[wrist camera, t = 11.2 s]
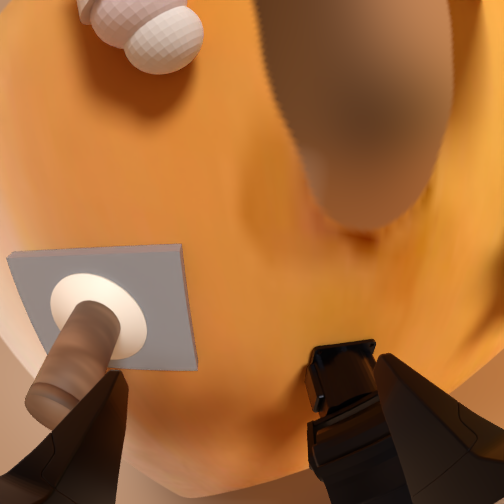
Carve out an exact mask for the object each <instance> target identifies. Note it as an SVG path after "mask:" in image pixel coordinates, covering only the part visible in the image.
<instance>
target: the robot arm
mask: <svg viewBox="0 0 504 504" xmlns="http://www.w3.org/2000/svg"><path fill="white" fill-rule="evenodd" d="M375 346H376V342H375V340H374V339H368V340H362V341H355V342H348V343H340V344H332V345H324V346H317V347H315V348H314V350H313V354H312V359H311V364H310V365H309V366H308V367H307V373H306V378H305V384H306V388H307V392H308V395H309V399H310V403H311V407H312V410H313V411H314V412H315V413H316V412H319V415H320V419H317V420H315V421H311V422H308V423H307V429H308V430H307V441H308V461H309V467H310V469H311V470H313V471H314V472H315V474H316V476H317V477H318V478H319V479H320V481H322V482H324V484H325V486H326V489H327V491H328V494H329V498H330V501H331V504H504V430H503V429H502V428H500V427H498V426H496V425H494V424H493V423H491V422H489V421H488V420H486V419H484V418H482V417H480V416H479V415H477V414H476V413H474V412H472V411H471V410H470V409H468V408H467V407H465V406H464V405H462V404H461V403H459V402H457V400H455V399H454V398H452V397H451V396H450V395H448V394H447V393H446V392H444V391H443V390H441V389H440V388H439V387H437V386H436V385H434V384H433V383H432V382H430V381H429V380H427V379H426V378H425V377H423V376H422V375H420V374H419V373H418V372H416V371H415V370H413V369H412V368H411V367H409V366H408V365H406V364H405V363H404V362H402V361H401V360H400V359H398V358H397V357H395V356H394V355H393V354H391V353H386V354H381V355H380V356H379V357H378V360H377V362H376V361H375V359H374V357H373V355H372V354H373V352H374V349H375ZM318 351H319V352H318ZM128 391H129V389H128V384H127V382H126V380H125V378H124V375H123V373H122V372H121V371H120V370H109V371H108V372H107V373H106V374H105V375H104V376H103V377H102V378H101V379H100V380H99V381H98V383H97V384H96V385H95V386H94V387H93V388H92V389H91V390H90V391H89V392H88V393H87V394H86V395H85V396H84V397H83V398H82V399H81V400H80V401H79V403H78V404H77V405H76V406H75V407H74V408H73V409H72V410H71V411H70V412H69V413H68V414H67V415H66V416H65V417H64V419H63V420H62V421H61V422H60V423H59V424H58V425H57V426H56V427H55V428H54V429H53V430H52V433H49V435H48V436H47V437H46V438H45V439H44V440H43V441H42V442H41V443H40V444H39V445H38V446H37V447H36V448H35V449H34V450H33V451H32V452H31V453H30V454H28V455H27V456H26V457H25V458H24V459H23V460H21V461H20V462H19V463H18V464H17V465H16V466H14V467H13V468H12V469H11V470H10V471H8V472H7V473H5V474H4V475H2V476H0V504H115V501H116V492H117V483H118V476H119V469H120V462H121V455H122V449H123V443H124V437H125V430H126V420H127V404H128Z"/></svg>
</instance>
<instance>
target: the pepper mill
mask: <svg viewBox="0 0 504 504" xmlns="http://www.w3.org/2000/svg"><path fill="white" fill-rule="evenodd" d="M120 330H121V326H120V322H119V320H118V318H117V316H116V315H115V314H114V312H113V311H112V310H111V309H109V308H108V307H107V306H105V305H103V304H102V303H99V302H96V301H91V300H86V301H82V302H80V303H78V304H77V305H76V306H75V308H74V310H73V311H72V313H71V315H70V316H69V318H68V320H67V321H66V323H65V325H64V326H63V328H62V330H61V332H60V333H59V335H58V337H57V339H56V340H55V342H54V344H53V346H52V348H51V350H50V351H49V353H48V355H47V357H46V359H45V361H44V363H43V365H42V367H41V368H40V370H39V372H38V374H37V376H36V378H35V381H34V383H33V384H32V385H31V387H30V389H29V391H28V393H27V395H26V398H25V406H26V408H27V410H28V411H29V413H30V414H31V415H32V416H33V417H34V418H35V419H36V420H37V421H38V422H40V423H41V424H42V425H44V426H45V427H47V428H49V429H50V430H53V429H54V428H55V427H56V426H57V425H58V424H59V423H60V422H61V421H62V420H63V419H64V417H65V416H66V415H67V414H68V413H69V412H70V411H71V410H72V409H73V408H74V407H75V406H76V405H77V404H78V403H79V401H80V400H81V399H82V398H83V397H84V396H85V395H86V394H87V393H88V392H89V391H90V390H91V389H92V388H93V387H94V386H95V385H96V384H97V383H98V381H99V380H100V379H101V378H102V377H103V376H104V375H105V373H106V370H107V367H108V364H109V361H110V359H111V356H112V353H113V350H114V347H115V345H116V342H117V339H118V337H119V334H120Z"/></svg>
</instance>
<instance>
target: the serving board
mask: <svg viewBox="0 0 504 504" xmlns="http://www.w3.org/2000/svg"><path fill="white" fill-rule="evenodd" d="M6 259H7V262H8V265H9V268H10V271H11V274H12V276H13V279H14V282H15V285H16V287H17V290H18V292H19V295H20V297H21V300H22V302H23V305H24V307H25V309H26V312H27V314H28V316H29V319H30V321H31V323H32V325H33V327H34V329H35V331H36V334H37V336H38V338H39V340H40V342H41V344H42V346H43V348H44V349H45V351H46V353H47V355H48V353H49V351H50V350H51V348H52V346H53V344H54V342H55V340H56V339H57V337H58V335H59V333H60V332H61V330H62V328H63V326H64V325H65V323H66V321H67V320H68V318H69V316H70V315H71V313H72V311H73V310H74V308H75V306H76V305H77V304H78V303H80V302H82V301H86V300H91V301H96V302H99V303H102V304H103V305H105V306H107V307H108V308H109V309H111V310H112V311H113V312H114V314H115V315H116V316H117V318H118V320H119V322H120V326H121V330H120V334H119V337H118V339H117V342H116V345H115V347H114V350H113V353H112V356H111V359H110V361H109V364H108V367H110V368H123V369H141V370H172V371H198V358H197V352H196V346H195V340H194V333H193V327H192V320H191V314H190V307H189V300H188V292H187V285H186V277H185V268H184V260H183V251H182V244H163V245H139V246H117V247H96V248H75V249H56V250H37V251H19V252H12V253H11V254H10V255H9V256H8V257H7V258H6Z"/></svg>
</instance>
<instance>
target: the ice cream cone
mask: <svg viewBox="0 0 504 504" xmlns="http://www.w3.org/2000/svg"><path fill="white" fill-rule="evenodd" d="M77 6H78V12H79V17H80V21H81V23H82V24H85V25H91V24H92V28H93V29H94V31H95V33H96V34H97V36H98V37H99V38H100V39H101V40H102V41H104V42H105V43H107V44H109V45H110V46H114V47H117V48H120V49H124V51H125V54H126V57H127V58H128V60H129V61H130V63H131V64H132V65H133V66H134V67H136V68H138V69H139V70H141V71H143V72H146V73H150V74H168V73H172V72H175V71H178V70H180V69H181V68H183V67H185V66H186V65H188V64H189V63H190V62H191V61H192V60H193V59H194V58H195V57H196V55H197V54H198V52H199V51H200V48H201V46H202V43H203V36H204V34H203V26H202V23H201V21H200V19H199V18H198V16H197V15H196V14H195V13H194V12H193V11H192V10H191V9H189V8H188V7H186V6H187V0H77Z"/></svg>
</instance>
